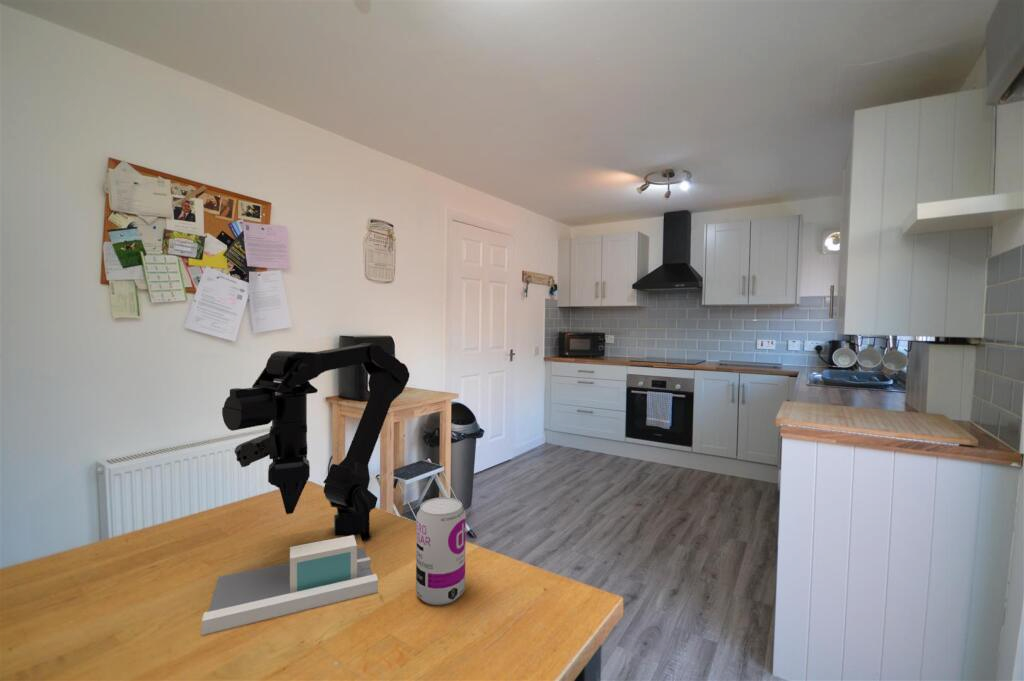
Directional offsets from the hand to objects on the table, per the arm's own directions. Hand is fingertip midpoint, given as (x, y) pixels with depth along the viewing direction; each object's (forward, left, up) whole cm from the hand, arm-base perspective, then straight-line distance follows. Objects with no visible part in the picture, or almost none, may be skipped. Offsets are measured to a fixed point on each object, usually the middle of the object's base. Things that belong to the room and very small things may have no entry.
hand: (289, 503), depth 82 cm
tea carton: (-5, +12, -10) cm, 17 cm away
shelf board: (-1, +9, -12) cm, 15 cm away
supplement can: (-23, +19, -12) cm, 32 cm away
